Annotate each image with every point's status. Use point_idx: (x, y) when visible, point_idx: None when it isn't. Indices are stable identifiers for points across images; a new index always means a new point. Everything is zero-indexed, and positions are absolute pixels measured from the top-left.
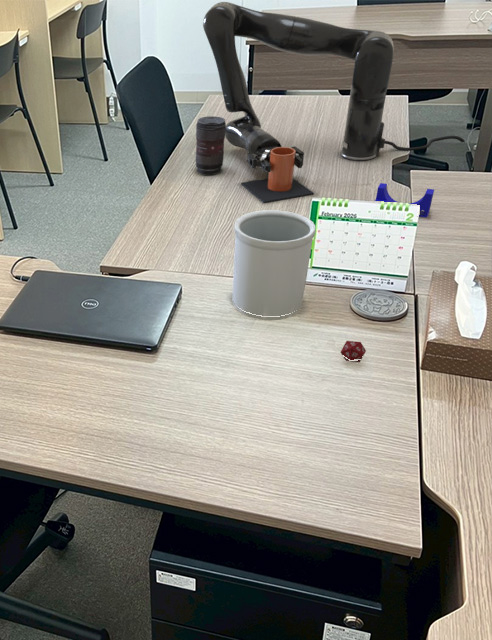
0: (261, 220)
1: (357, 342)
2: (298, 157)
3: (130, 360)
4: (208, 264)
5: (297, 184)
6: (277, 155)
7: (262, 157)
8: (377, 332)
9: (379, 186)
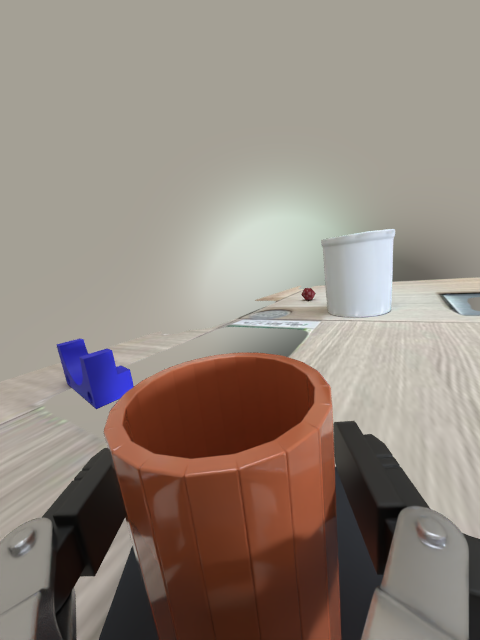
0: (368, 241)
1: (306, 288)
2: (86, 476)
3: (456, 291)
4: (442, 329)
5: (129, 627)
6: (289, 361)
7: (438, 595)
8: (284, 306)
9: (103, 352)
